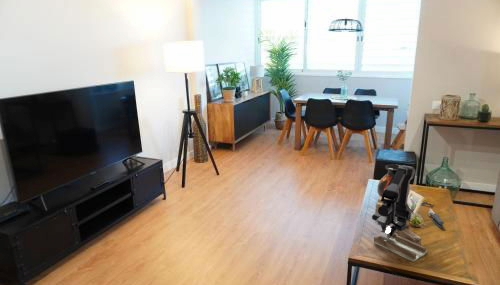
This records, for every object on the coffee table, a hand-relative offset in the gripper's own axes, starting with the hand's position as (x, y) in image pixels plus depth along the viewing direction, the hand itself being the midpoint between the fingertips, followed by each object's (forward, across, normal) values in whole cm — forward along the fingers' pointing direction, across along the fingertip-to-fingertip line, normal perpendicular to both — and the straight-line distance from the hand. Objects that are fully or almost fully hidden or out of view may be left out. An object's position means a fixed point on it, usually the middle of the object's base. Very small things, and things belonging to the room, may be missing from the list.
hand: (387, 234), depth 200 cm
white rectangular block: (+1, 0, 0) cm, 1 cm away
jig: (+4, +8, 0) cm, 9 cm away
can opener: (+5, +4, +48) cm, 48 cm away
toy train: (+5, -23, +28) cm, 36 cm away
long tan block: (+5, +7, +12) cm, 14 cm away
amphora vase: (+5, -29, +50) cm, 58 cm away
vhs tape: (+5, -12, +68) cm, 69 cm away
